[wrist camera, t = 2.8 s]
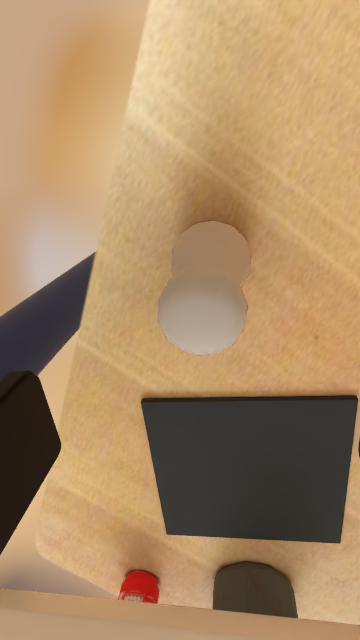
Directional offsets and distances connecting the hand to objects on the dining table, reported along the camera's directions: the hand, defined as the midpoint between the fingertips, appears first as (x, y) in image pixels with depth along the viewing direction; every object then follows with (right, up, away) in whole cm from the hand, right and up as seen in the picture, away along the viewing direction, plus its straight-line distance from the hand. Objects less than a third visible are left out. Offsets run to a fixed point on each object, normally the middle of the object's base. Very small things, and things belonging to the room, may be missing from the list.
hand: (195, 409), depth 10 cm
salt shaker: (+2, +8, +17) cm, 19 cm away
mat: (+7, -14, +27) cm, 31 cm away
